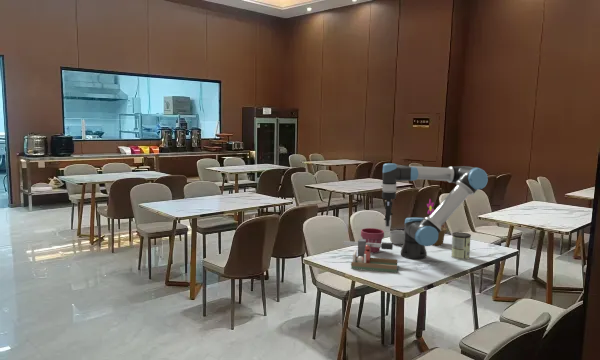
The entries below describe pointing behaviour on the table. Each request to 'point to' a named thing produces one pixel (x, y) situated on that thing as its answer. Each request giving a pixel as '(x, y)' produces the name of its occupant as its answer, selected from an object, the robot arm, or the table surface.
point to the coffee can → (460, 245)
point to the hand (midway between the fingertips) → (387, 229)
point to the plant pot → (372, 237)
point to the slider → (367, 247)
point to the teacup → (397, 237)
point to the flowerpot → (443, 230)
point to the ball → (360, 259)
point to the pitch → (372, 261)
